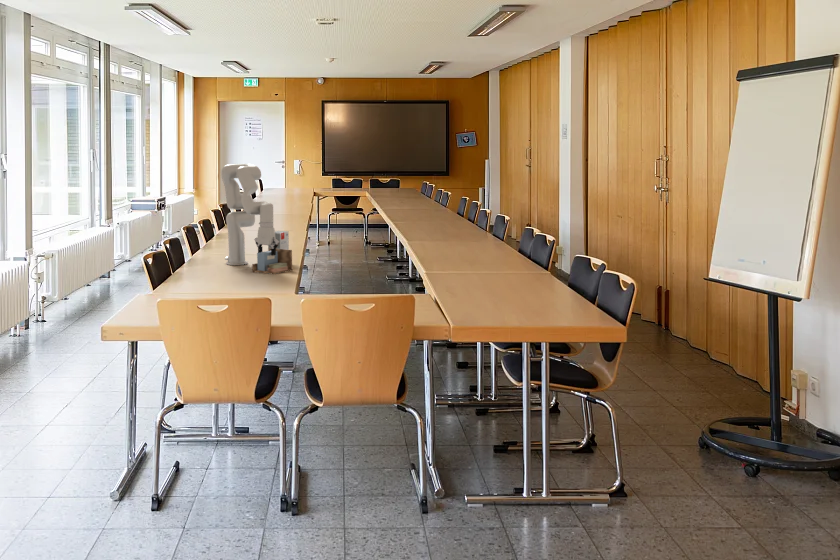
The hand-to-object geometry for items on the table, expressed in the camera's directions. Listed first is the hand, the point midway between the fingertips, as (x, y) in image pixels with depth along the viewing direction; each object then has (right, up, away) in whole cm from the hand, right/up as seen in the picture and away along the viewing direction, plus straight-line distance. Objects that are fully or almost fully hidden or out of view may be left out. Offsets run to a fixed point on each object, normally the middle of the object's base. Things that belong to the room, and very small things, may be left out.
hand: (266, 254), depth 503 cm
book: (0, -8, +1) cm, 8 cm away
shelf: (+3, -10, 0) cm, 10 cm away
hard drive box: (+3, -6, +25) cm, 26 cm away
